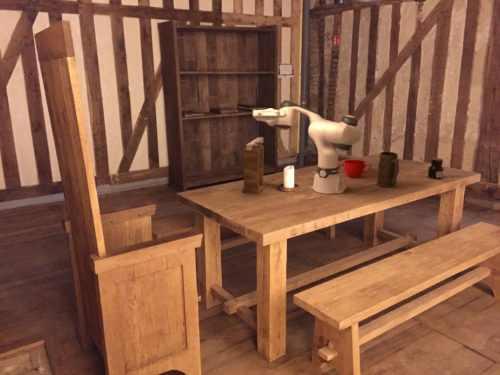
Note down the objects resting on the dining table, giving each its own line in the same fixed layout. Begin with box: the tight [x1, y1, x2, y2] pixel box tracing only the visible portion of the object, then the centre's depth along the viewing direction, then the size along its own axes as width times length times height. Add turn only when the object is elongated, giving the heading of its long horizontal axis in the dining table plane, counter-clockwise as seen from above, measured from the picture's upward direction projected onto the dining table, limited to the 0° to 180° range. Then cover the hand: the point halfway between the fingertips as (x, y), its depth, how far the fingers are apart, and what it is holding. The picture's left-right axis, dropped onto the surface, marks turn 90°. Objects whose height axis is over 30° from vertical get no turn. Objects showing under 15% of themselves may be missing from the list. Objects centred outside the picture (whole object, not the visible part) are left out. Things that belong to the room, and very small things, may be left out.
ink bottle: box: [427, 157, 444, 180], centre depth 280 cm, size 10×9×12 cm
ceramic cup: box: [343, 159, 372, 179], centre depth 280 cm, size 13×17×10 cm
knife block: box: [241, 142, 266, 195], centre depth 247 cm, size 13×10×27 cm
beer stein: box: [376, 151, 400, 189], centre depth 258 cm, size 15×11×20 cm
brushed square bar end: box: [245, 136, 264, 151], centre depth 246 cm, size 26×3×3 cm, turn 165°
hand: (268, 111), depth 260 cm, fingers open, 8 cm apart
